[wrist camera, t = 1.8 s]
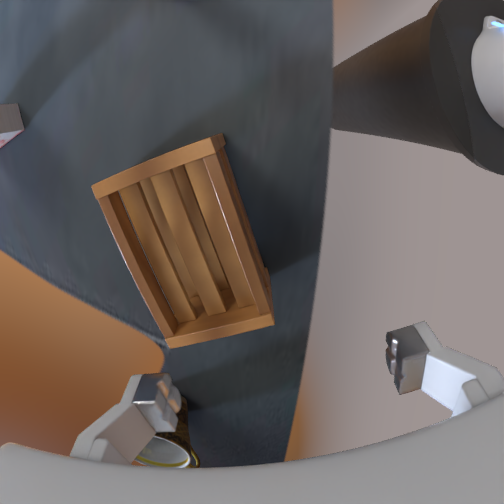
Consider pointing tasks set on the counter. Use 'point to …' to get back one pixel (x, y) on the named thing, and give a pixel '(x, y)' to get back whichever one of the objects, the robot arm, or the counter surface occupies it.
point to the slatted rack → (190, 243)
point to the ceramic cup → (170, 445)
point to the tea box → (9, 122)
